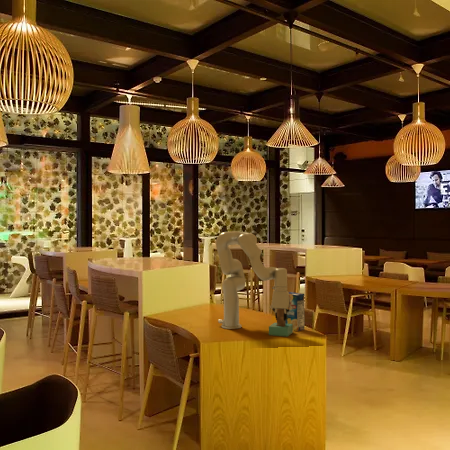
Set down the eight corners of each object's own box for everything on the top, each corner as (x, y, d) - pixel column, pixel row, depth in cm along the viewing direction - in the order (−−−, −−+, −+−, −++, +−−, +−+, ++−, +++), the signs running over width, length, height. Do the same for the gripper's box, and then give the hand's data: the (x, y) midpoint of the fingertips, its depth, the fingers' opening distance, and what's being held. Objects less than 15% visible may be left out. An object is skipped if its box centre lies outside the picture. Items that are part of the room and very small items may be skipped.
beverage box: (297, 331, 314) (297, 295, 314) (283, 328, 322) (283, 293, 322) (304, 329, 319) (304, 293, 318) (291, 326, 327) (290, 291, 326)
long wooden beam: (277, 328, 307) (276, 305, 307) (279, 327, 311) (278, 304, 310) (283, 329, 305) (283, 305, 305) (285, 327, 309) (285, 304, 309)
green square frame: (268, 334, 305) (268, 326, 305) (274, 330, 316) (274, 322, 316) (287, 336, 301) (287, 328, 301) (292, 332, 311) (292, 324, 311)
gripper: (265, 289, 307) (265, 320, 308) (293, 290, 301) (293, 322, 301) (269, 287, 314) (269, 317, 315) (296, 288, 308) (296, 319, 308)
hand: (281, 319), depth 308 cm, fingers closed on long wooden beam, 4 cm apart
